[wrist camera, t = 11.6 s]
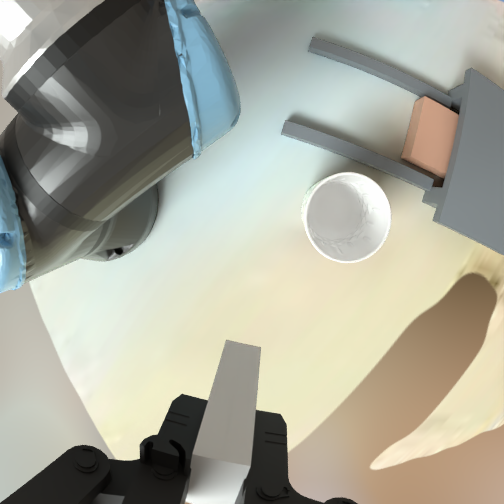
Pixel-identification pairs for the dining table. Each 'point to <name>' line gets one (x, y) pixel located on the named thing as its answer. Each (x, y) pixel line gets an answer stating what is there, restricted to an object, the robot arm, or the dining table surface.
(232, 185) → the dining table surface
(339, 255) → the white cup
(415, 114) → the salmon pink tile
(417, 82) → the overhang dock
